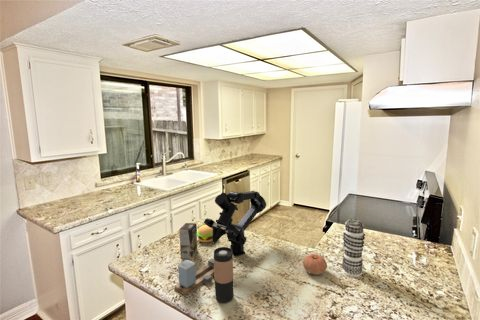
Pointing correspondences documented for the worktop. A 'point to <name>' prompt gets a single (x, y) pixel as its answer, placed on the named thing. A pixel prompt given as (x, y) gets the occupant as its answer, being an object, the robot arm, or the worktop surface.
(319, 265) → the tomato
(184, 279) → the block
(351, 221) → the grey white banded cylinder
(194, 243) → the coffee box
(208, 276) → the beam
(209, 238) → the hamburger
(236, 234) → the robot arm
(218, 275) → the travel mug
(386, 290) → the worktop surface
